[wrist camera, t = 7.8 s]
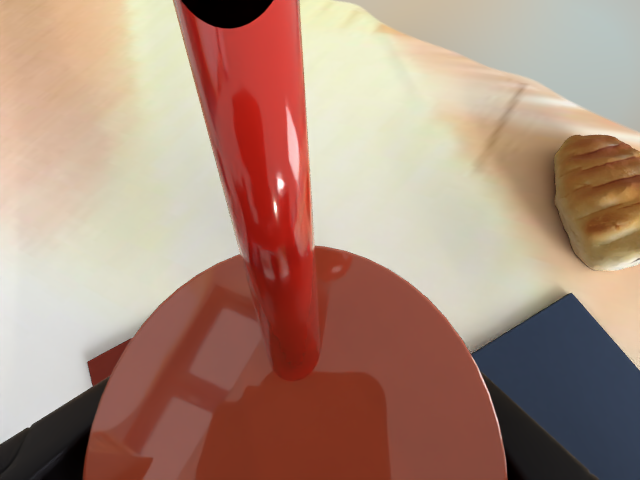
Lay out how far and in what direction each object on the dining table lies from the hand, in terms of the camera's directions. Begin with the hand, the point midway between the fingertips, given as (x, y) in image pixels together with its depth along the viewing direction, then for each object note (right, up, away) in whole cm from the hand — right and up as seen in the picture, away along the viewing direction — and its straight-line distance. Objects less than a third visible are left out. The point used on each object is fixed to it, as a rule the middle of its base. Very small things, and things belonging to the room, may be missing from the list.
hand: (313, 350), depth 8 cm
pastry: (+19, +5, +13) cm, 23 cm away
